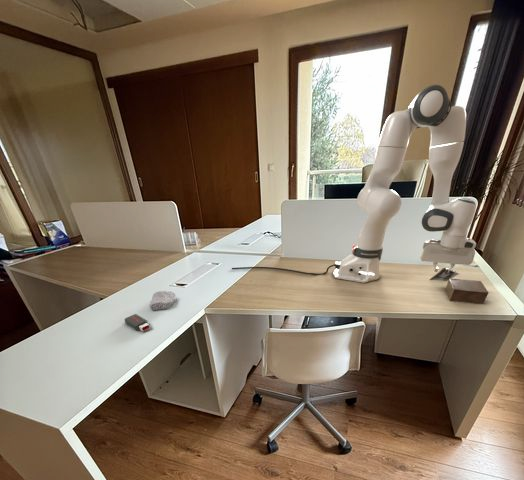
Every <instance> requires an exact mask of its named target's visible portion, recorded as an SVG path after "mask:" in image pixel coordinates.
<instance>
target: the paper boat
mask: <svg viewBox="0 0 524 480" xmlns="http://www.w3.org/2000/svg"><path fill="white" fill-rule="evenodd" d="M446 268H447V267H442V269H440V270H438V271H437V272H436V274H434V275H433V276H432V277H430V278H429V281H438V282H448V280H449V279H454V278H455V277H457V276H459V275H460V273H459V272H457V271H456V270H453V269H450V271H449V273H445V269H446Z"/></svg>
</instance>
